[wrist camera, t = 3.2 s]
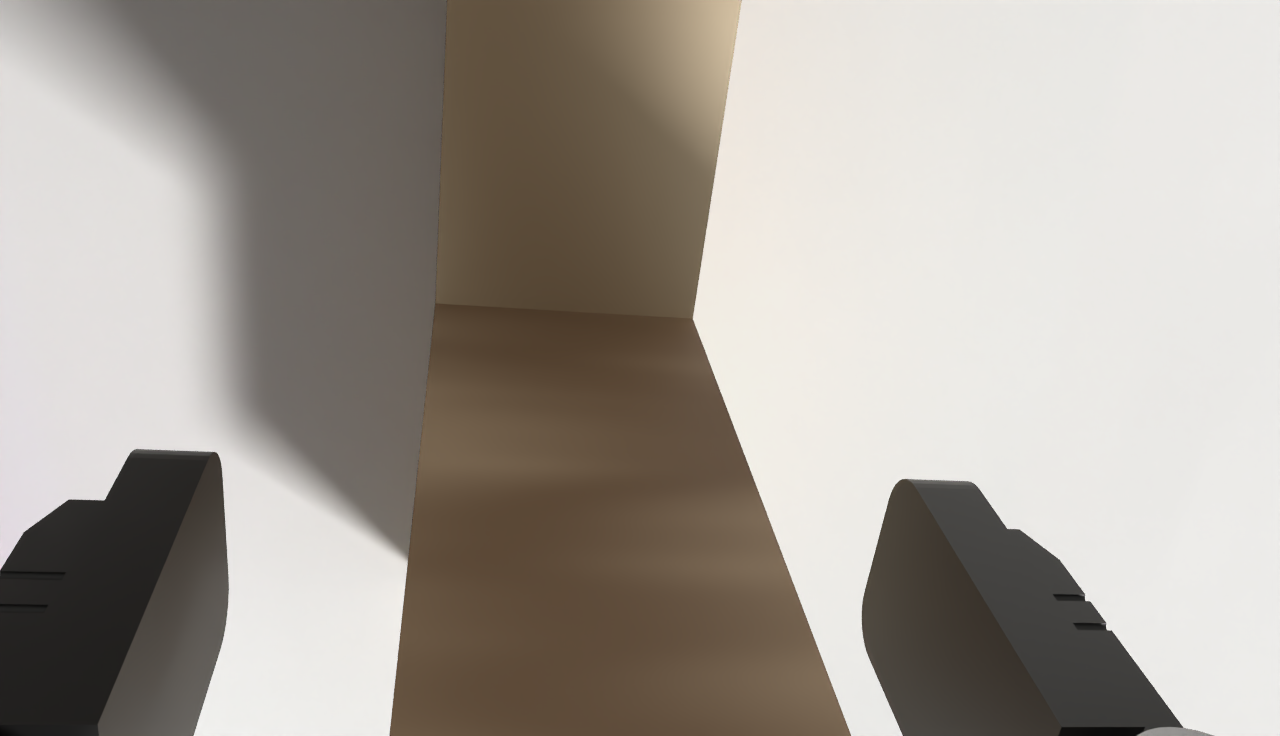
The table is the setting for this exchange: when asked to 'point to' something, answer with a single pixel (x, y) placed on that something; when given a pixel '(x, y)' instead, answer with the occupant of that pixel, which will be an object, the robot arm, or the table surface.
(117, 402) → the table surface
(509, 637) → the tan stepped block
